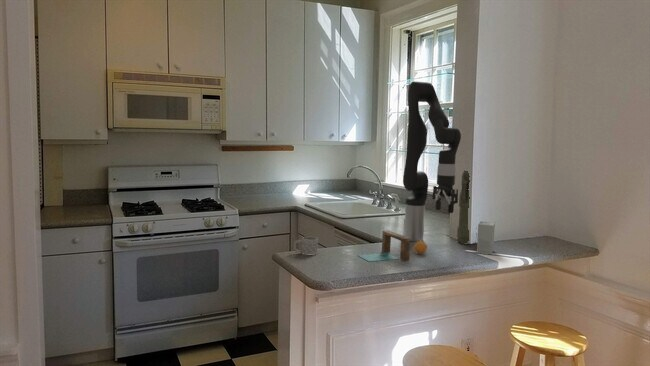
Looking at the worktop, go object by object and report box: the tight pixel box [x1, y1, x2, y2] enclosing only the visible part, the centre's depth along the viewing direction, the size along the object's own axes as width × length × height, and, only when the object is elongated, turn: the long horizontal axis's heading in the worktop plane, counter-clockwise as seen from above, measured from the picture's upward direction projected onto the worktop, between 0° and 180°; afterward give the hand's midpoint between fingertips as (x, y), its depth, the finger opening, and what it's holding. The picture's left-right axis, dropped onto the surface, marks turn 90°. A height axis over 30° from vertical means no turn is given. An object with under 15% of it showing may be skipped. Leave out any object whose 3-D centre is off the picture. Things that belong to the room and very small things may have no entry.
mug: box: [293, 236, 319, 255], centre depth 212 cm, size 10×7×7 cm, turn 99°
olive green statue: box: [456, 169, 470, 244], centre depth 241 cm, size 9×12×35 cm
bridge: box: [381, 229, 411, 262], centre depth 212 cm, size 3×17×9 cm, turn 23°
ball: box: [413, 241, 428, 255], centre depth 217 cm, size 6×6×6 cm
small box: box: [476, 221, 496, 256], centre depth 223 cm, size 8×6×13 cm
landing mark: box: [357, 252, 400, 263], centre depth 209 cm, size 10×14×1 cm
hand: (444, 211), depth 220 cm, fingers open, 8 cm apart
